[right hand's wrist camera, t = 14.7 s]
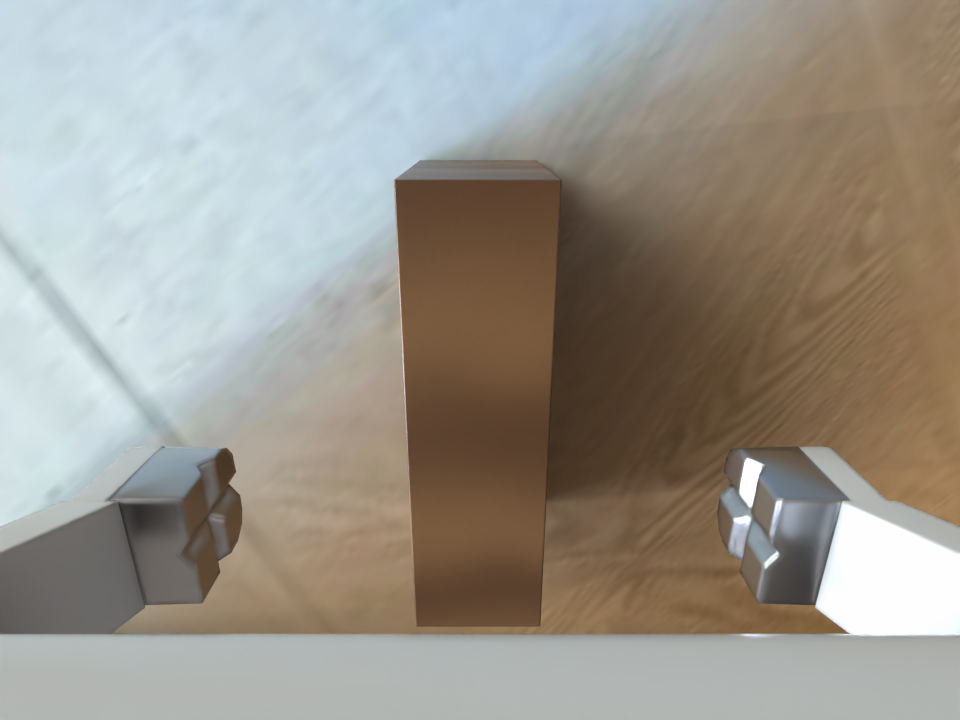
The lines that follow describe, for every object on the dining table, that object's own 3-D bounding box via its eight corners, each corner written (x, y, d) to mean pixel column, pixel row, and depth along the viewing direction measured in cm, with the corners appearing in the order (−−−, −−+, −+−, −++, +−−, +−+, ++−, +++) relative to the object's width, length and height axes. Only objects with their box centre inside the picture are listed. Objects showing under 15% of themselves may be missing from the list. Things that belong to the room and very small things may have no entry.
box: (419, 160, 33) (393, 179, 23) (537, 160, 33) (561, 179, 23) (430, 504, 40) (415, 627, 31) (525, 504, 40) (540, 627, 31)
